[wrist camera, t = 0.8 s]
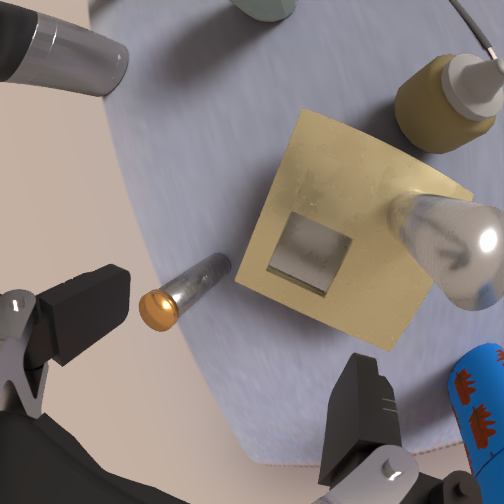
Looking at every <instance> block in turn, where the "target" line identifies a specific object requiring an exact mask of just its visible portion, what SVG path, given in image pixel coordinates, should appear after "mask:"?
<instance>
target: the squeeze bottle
mask: <svg viewBox="0 0 504 504" xmlns="http://www.w3.org/2000/svg"><path fill="white" fill-rule="evenodd" d="M503 84H504V60H502V59H500V58H498V59H493V60H489V61H483V60H482V59H480V58H479V57H477V56H474V55H471V54H468V53H463V54H457V55H456V56H455V55H451V54H448V55H443V56H437V57H436V58H435V59H434V60H432V61H431V62H430V63H429V64H427V65H426V66H425V67H424V68H422V69H421V70H420V71H418V72H417V73H416V74H415V75H414V76H412V77H411V78H410V79H409V80H407V81H406V82H405V83H404V84H403V85H402V86H401V87H400V88H399V89H398V92H397V95H396V98H395V100H394V106H395V117H396V120H397V122H398V124H399V126H400V129H401V131H402V133H403V134H404V135H405V136H406V137H407V138H408V139H409V140H410V142H411V143H412V144H413V145H415V146H417V147H418V148H420V149H422V150H424V151H425V152H428V153H435V154H443V153H446V152H450V151H453V150H455V149H457V148H459V147H460V146H462V145H464V144H466V143H468V142H470V141H472V140H474V139H475V138H477V137H479V136H481V135H483V134H485V133H486V132H487V131H488V130H489V129H490V128H491V127H492V126H493V124H494V122H495V118H496V115H497V114H498V113H499V112H500V110H501V109H502V106H503V101H504V96H503V90H502V86H503Z"/></svg>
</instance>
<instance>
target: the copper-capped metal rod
mask: <svg viewBox="0 0 504 504" xmlns="http://www.w3.org/2000/svg"><path fill="white" fill-rule="evenodd" d="M230 269H231V263H230V260H229V259H228V257H227V256H225V255H224V254H222V253H215V254H213V255H211V256H210V257H208V258H206V259H205V260H203V261H202V262H200V263H198V264H197V265H195V266H194V267H192V268H191V269H189V270H187V271H186V272H184V273H183V274H181V275H180V276H178V277H176V278H175V279H173V280H172V281H170V282H169V283H167V284H166V285H164V286H162V287H161V288H159V289H156V290H152V291H150V292H149V293H147V294H145V295H144V296H143V297H142V298H141V300H140V302H139V312H140V315H141V317H142V319H143V320H144V322H145V323H146V324H147V325H148V326H149V327H150V328H152V329H154V330H156V331H160V332H162V331H167V330H168V329H170V328H171V327H172V326H173V325H174V324H175V323H176V322H177V321H178V318H179V317H180V316H181V315H182V314H183V313H184V312H185V311H186V310H188V309H189V308H190V307H191V306H192V305H193V304H194V303H195V302H197V301H198V300H199V299H200V298H201V297H202V296H203V295H205V294H206V293H207V292H208V291H209V290H210V289H211V288H212V287H214V286H215V285H216V284H217V283H218V282H219V281H220V280H222V279H223V278H224V277H225V276H226V275H227V274H228V273H229V272H230Z"/></svg>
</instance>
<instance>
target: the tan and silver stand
mask: <svg viewBox="0 0 504 504" xmlns="http://www.w3.org/2000/svg"><path fill="white" fill-rule="evenodd" d="M473 196H474V194H473V193H471V192H470V191H468V190H467V189H465V188H464V187H462V186H461V185H459V184H457V183H456V182H454V181H453V180H451V179H450V178H448V177H446V176H445V175H443V174H442V173H440V172H438V171H437V170H435V169H433V168H431V167H430V166H428V165H426V164H425V163H423V162H421V161H419V160H417V159H416V158H414V157H412V156H410V155H408V154H406V153H405V152H403V151H401V150H399V149H397V148H395V147H393V146H391V145H389V144H387V143H385V142H383V141H381V140H379V139H377V138H375V137H372V136H370V135H368V134H366V133H364V132H362V131H359V130H357V129H355V128H353V127H350V126H348V125H346V124H343V123H341V122H338V121H336V120H334V119H331V118H329V117H326V116H323V115H321V114H318V113H316V112H313V111H310V110H308V109H305V108H302V111H301V113H300V116H299V118H298V121H297V123H296V126H295V128H294V131H293V133H292V136H291V138H290V141H289V143H288V146H287V148H286V151H285V153H284V156H283V158H282V161H281V163H280V166H279V169H278V171H277V174H276V176H275V179H274V181H273V184H272V186H271V189H270V191H269V194H268V196H267V199H266V201H265V204H264V206H263V209H262V211H261V214H260V217H259V219H258V222H257V224H256V227H255V229H254V232H253V234H252V237H251V239H250V242H249V245H248V247H247V250H246V252H245V255H244V257H243V260H242V262H241V265H240V268H239V270H238V273H237V275H236V278H235V280H234V281H235V282H237V283H240V284H242V285H244V286H246V287H248V288H250V289H252V290H254V291H256V292H258V293H260V294H262V295H264V296H266V297H269V298H271V299H273V300H275V301H277V302H279V303H281V304H283V305H285V306H288V307H290V308H292V309H294V310H296V311H298V312H301V313H303V314H305V315H307V316H309V317H311V318H314V319H316V320H318V321H320V322H322V323H325V324H327V325H329V326H331V327H333V328H336V329H338V330H340V331H342V332H345V333H347V334H349V335H351V336H354V337H356V338H358V339H360V340H363V341H365V342H367V343H370V344H372V345H374V346H377V347H379V348H381V349H384V350H386V351H388V352H390V351H391V350H392V348H393V347H394V345H395V344H396V342H397V341H398V339H399V338H400V336H401V335H402V333H403V332H404V330H405V329H406V327H407V326H408V324H409V323H410V321H411V320H412V318H413V316H414V315H415V313H416V312H417V310H418V308H419V307H420V305H421V303H422V302H423V300H424V298H425V297H426V295H427V293H428V291H429V290H430V288H431V286H432V284H433V282H435V283H436V284H437V285H438V286H439V288H440V289H441V290H442V291H443V292H444V294H445V295H446V296H447V297H448V298H449V300H450V301H451V302H452V303H453V304H454V305H456V306H457V307H459V308H461V309H464V310H468V311H478V310H483V309H485V308H488V307H490V306H492V305H494V304H495V303H496V302H498V301H499V300H500V299H501V298H502V297H503V296H504V212H503V211H502V210H500V209H498V208H496V207H492V206H488V205H483V204H479V203H475V202H471V201H472V198H473ZM269 265H270V266H272V267H274V268H276V269H278V270H280V271H282V272H285V273H287V274H289V275H291V276H293V277H295V278H297V279H300V280H302V281H304V282H306V283H308V284H310V285H312V286H315V287H317V288H319V289H321V290H323V291H325V293H324V292H322V291H320V290H318V289H316V288H314V287H312V286H309V285H307V284H305V283H303V282H301V281H299V280H297V279H294V278H292V277H290V276H288V275H286V274H284V273H282V272H279V271H277V270H275V269H273V268H271V267H269Z"/></svg>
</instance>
